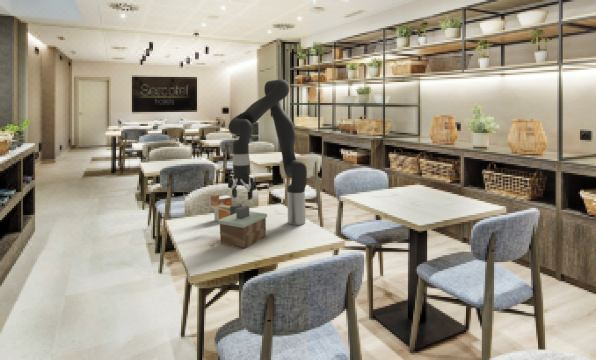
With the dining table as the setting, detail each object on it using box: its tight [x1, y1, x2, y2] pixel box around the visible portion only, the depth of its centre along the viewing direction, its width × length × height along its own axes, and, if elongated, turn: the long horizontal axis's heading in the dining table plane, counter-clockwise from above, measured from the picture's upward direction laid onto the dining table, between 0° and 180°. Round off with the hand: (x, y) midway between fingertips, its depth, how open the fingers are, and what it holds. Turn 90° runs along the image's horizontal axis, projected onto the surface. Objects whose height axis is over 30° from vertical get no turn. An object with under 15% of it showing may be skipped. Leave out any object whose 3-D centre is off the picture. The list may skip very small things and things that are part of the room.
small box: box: [213, 194, 233, 223], centre depth 231 cm, size 8×6×13 cm
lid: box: [217, 205, 268, 228], centre depth 196 cm, size 19×14×7 cm
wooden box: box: [219, 203, 267, 250], centre depth 198 cm, size 18×16×15 cm
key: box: [210, 193, 237, 211], centre depth 208 cm, size 3×15×6 cm, turn 60°
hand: (242, 198), depth 195 cm, fingers open, 8 cm apart
